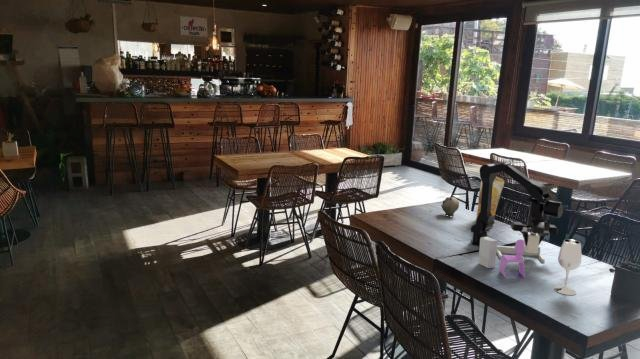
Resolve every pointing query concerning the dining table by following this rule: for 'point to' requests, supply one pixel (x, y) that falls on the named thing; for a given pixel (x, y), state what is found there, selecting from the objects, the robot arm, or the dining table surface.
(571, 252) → the wineglass
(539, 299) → the dining table surface
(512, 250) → the white post rack
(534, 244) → the cream rectangular block
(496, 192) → the pancake mix bag
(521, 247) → the toy chair
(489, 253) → the skincare box
